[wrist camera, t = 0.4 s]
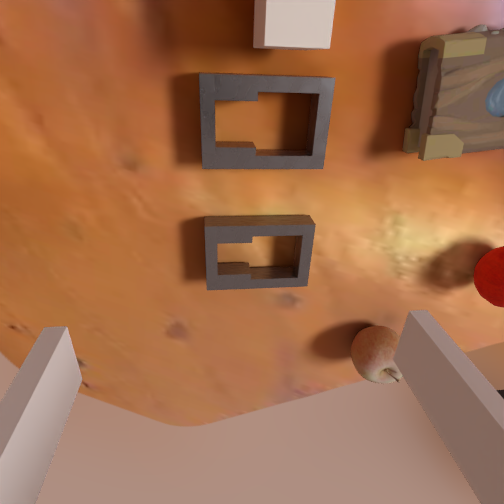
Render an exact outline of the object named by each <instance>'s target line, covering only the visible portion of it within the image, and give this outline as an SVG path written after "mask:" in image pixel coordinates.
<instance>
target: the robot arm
mask: <svg viewBox="0 0 504 504" xmlns="http://www.w3.org/2000/svg"><path fill="white" fill-rule="evenodd" d="M393 361H394V362H395V364H396V366H397V367H398V369H399V370H400V372H401V374H402V375H403V377H404V379H405V380H406V382H407V384H408V385H409V387H410V388H411V390H412V391H413V393H414V395H415V397H416V398H417V400H418V401H419V403H420V405H421V406H422V408H423V410H424V411H425V413H426V415H427V416H428V418H429V419H430V421H431V423H432V424H433V426H434V428H435V429H436V431H437V432H438V434H439V436H440V437H441V439H442V441H443V442H444V444H445V446H446V447H447V449H448V451H449V452H450V454H451V455H452V457H453V459H454V460H455V462H456V463H457V465H458V467H459V468H460V470H461V472H462V473H463V475H464V476H465V478H466V480H467V482H468V483H469V485H470V486H471V488H472V490H473V491H474V493H475V495H476V496H477V498H478V500H479V501H480V503H481V504H504V390H495V388H494V387H493V386H492V385H491V384H490V383H489V382H488V380H487V379H486V378H485V377H484V376H483V375H482V373H481V372H480V371H479V370H478V369H477V368H476V366H475V365H474V364H473V363H472V362H471V361H470V360H469V358H468V357H467V356H466V355H465V354H464V353H463V351H462V350H461V349H460V348H459V347H458V346H457V344H456V343H455V342H454V341H453V340H452V339H451V337H450V336H449V335H448V334H447V333H446V332H445V331H444V329H443V328H442V327H441V326H440V325H439V324H438V322H437V321H436V320H435V319H434V318H433V317H432V315H431V314H430V313H429V312H428V311H427V310H417V311H409V313H408V316H407V319H406V322H405V325H404V328H403V331H402V334H401V337H400V340H399V343H398V346H397V348H396V351H395V354H394V357H393ZM81 381H82V376H81V373H80V369H79V366H78V362H77V359H76V356H75V352H74V349H73V345H72V342H71V339H70V335H69V332H68V328H67V326H64V327H44V329H43V330H42V332H41V334H40V335H39V337H38V339H37V341H36V342H35V344H34V346H33V347H32V349H31V351H30V352H29V354H28V356H27V358H26V359H25V361H24V363H23V364H22V366H21V368H20V369H19V371H18V373H17V375H16V377H15V378H14V380H13V381H12V383H11V385H10V387H9V388H8V390H7V392H6V394H5V395H4V397H3V398H2V400H1V402H0V504H35V503H36V501H37V498H38V495H39V493H40V490H41V487H42V485H43V482H44V479H45V477H46V474H47V472H48V469H49V466H50V464H51V461H52V458H53V456H54V452H55V450H56V448H57V445H58V442H59V439H60V437H61V434H62V432H63V429H64V426H65V424H66V421H67V418H68V416H69V413H70V410H71V408H72V405H73V403H74V400H75V397H76V395H77V392H78V389H79V387H80V384H81Z"/></svg>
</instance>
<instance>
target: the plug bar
mask: <svg viewBox="0 0 504 504" xmlns="http://www.w3.org/2000/svg"><path fill="white" fill-rule="evenodd" d="M335 1H336V0H255V6H254V38H253V48H265V49H288V50H318V49H330V41H331V33H332V25H333V17H334V9H335Z"/></svg>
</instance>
